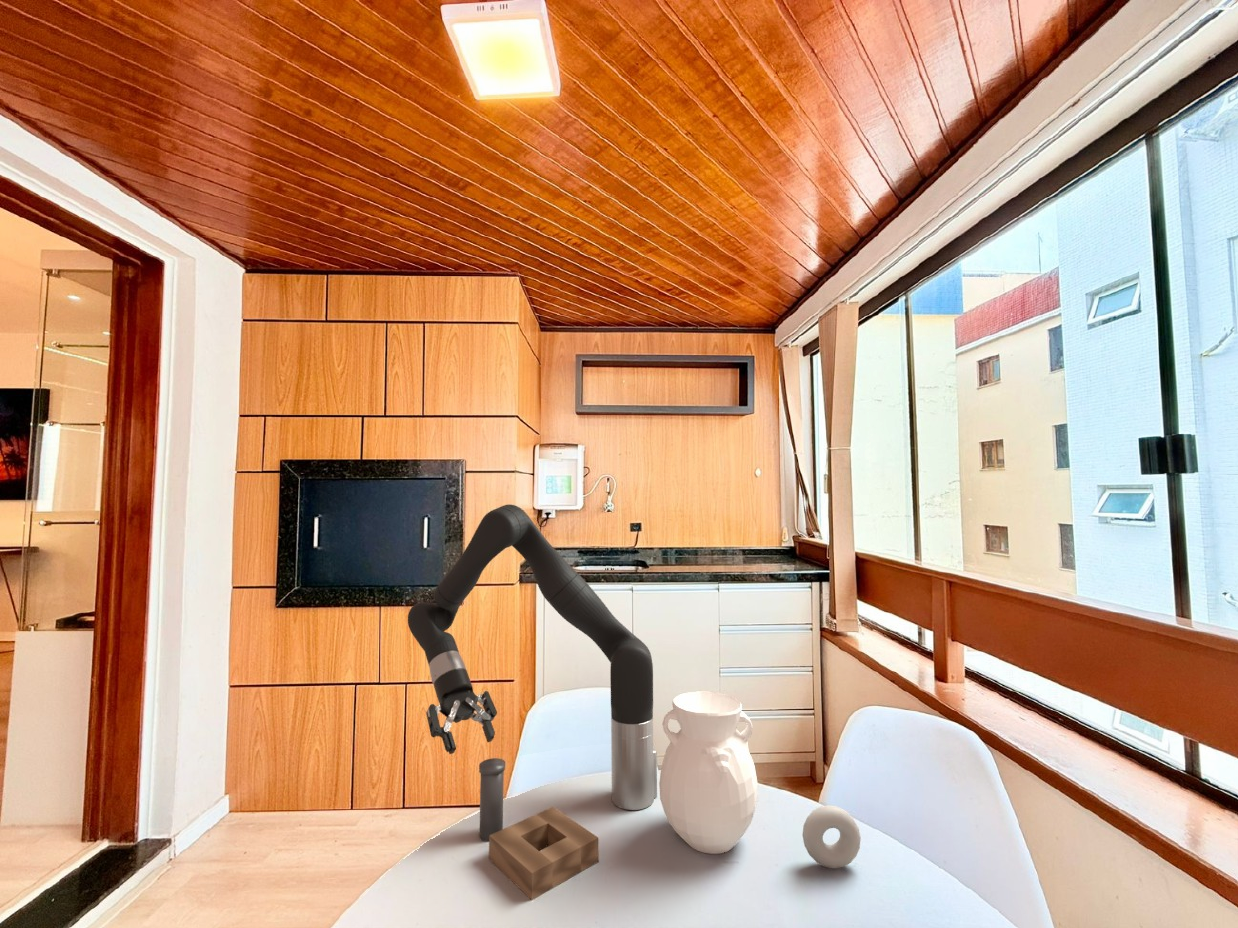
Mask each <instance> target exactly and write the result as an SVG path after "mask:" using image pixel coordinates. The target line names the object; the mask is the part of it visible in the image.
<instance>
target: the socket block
mask: <svg viewBox="0 0 1238 928" xmlns="http://www.w3.org/2000/svg"><path fill="white" fill-rule="evenodd" d="M488 842H489V843H488V860H489V861H490V862H491V863H492V864H493V865H495V867H496V868H497V869H499V870H500V872H501V873H503V874H504V875H505V876H506V877H507V878H508V879H509V880H510V881H511V882H512V883H513V884H514V885H515V886H517V887H518V889H519V890H520V891H522V893H524V894H525V895H526V896H527V897H528V898H529V899H530V900H531V901H533V900H535V899H536V898H538V897H540V896H541V895H543V894H546V892H549V891H550V890H552V889H554V888H556V887H557V886H559V885H561V884H562V883H564V882H565V881H567V880H569V879H571V878H572V877H574V876H576V875H578V874H580V873H581V872H583V871H585V870H586V869H588V868H590V867H591V866H593V865H595V864H597V863H599V861H600V859H599V857H600V856H599V851H600V850H599V849H600V847H599V836H597V835H595V834H594V833H592V832H591V831H589V829H586V828H585V827H584V826H583V825H580V824H579V823H577V822H576V821H575V820H573V819H572V818H570V817H569V816H567V815H566V814H565V813H563V812H561V811H560V810H559V809H557V808H556V807H554V806H552V807H550V808H547V809H545V810H542V811H541V812H538V813H536V814H533V815H532V816H530V817H527V818H524V819H523V820H520V821H518V822H515V823H514V824H512V825H509V826H507V827H505V828H503V830H500V831H498V832H496V833H494V834H491V835H489V841H488Z"/></svg>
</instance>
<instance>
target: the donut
mask: <svg viewBox="0 0 1238 928" xmlns="http://www.w3.org/2000/svg"><path fill="white" fill-rule="evenodd" d="M829 829H836V830H837V831H838V832H839V838H838V840H836V842H834V843H832V844H827V843H825V841H824V840H823V837H824V834H825V833H826V832H827V831H828V830H829ZM802 839H803V841H802V842H803V845H804V847H805V850H806V851H807V853H808V855H809V856H810V857H811V858H812V859H813V860H814V861H815V863H817V864H818V865H821V866H823V867H825V868H829V869H840V868H844V867H846V866H848V865H849V864H851V863H852V862H853V860H855V859H856V857H857V855H858V853H859V851H860V849H861V848H860V847H861V840H862V839H861V832H860V829H859V826H858V824H857V822H856V820H855V818H854V817H853V816H851V814H850V813H849V812H848V811H846V810H845V809H843V808H841V807H839V806H835V805H828V804H827V805H821V806H819V807H817V808H815V809H813V810H812V811H811V812H810V813H809V815H807V817H806V818H805V821H804V823H803V829H802Z"/></svg>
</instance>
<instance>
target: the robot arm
mask: <svg viewBox="0 0 1238 928" xmlns="http://www.w3.org/2000/svg"><path fill="white" fill-rule="evenodd" d="M470 539H471V540H470V541H469V543H468V545H467V546H466V548H465V549H464V551H463V552H462V554H461V555H460V557H459V558H458V560H457V561H456V562H455V564H454V565H453V566H452V567H451V569H450V570H449V571H448V572H447V574H445V576H444V577H443V579H442V580H441V581H440V582H439V583H438V585H437V586H436V588H435V589H434V591H433V595H432V596H433V600H434V602H417V603H415V604H414V605H412V606H411V608H410V609H409V611H408V614H407V624H408V629H409V630H410V633H411V634H412V636H413V637H414V639H415V640H416V642H417V643H418V645H419V646H420V647H421V648H422V650H423V652H424V653H425V657H426V660H427V664H428V667H429V674H430V678H431V683H432V684H433V688H434V691H435V695H436V697H437V701H438V703H439V705H435V704H434V703H431V704H430V705H429V707H428V708H427V710H426V718H427V723H428V728H429V733H430V736H431V737H432V738H436V737H440V738H441V740H442V742H443V746H444V749H445V751H446V753H449V755H452V754H455V751H456V750H457V745H456V744H455V743H456V742H455V739H454V736H453V734H452V731H451V730H450V729H451V727H452V725H453V722H454V723H459V722H461V721H468V720H470V719H471V720H472V721H473V722H478V723H479V724H481V725H482V726H481V727H482V730H483V734H484V736H485V738H486V741H487V743H490V742H492V741H493V740H494V738H495V735H496V730H495V729H494V726H493V723H492V721H494V719H495V717H496V716H497V715H498V711H497V708H496V706H495V704H494V701H493V700H492V697H491V694H490V692H489V691H487V690H485V691H484V692H483V693H481V694H478V695H476V694H475V692H474V687H473V684H472V682H471V679H470V677H469V676H470V675H469V673H468V669H467V667H466V665H465V662H464V660H463V657H462V655H461V653H460V652H459V648H458V645H457V643H456V639H455V638H454V636H453V634H451V633H449V632H447V630H449V629H450V628H451V627H452V625H453V624H454V621H455V618H456V616H457V614H458V611H459V608H460V606H461V604H462V603H463V602H464V600H466V598H467V597H468V596H469V595H470V594H471V591H472V590H473V589H474V588H475V586H476V584H477V583H478V581H479V580H480V577H481V575H482V573H483V571H484V570H485V568H487V566H488V565H489V563H490V562H491V561H492V560H494V558H496V557H497V556H498V555H499V554H500V553H501V552H503V551H504V550H505V549H507V548H510V547H512V548H514V549H515V550H516V551H517V552H518V553H519V554H520V555H521V557H522V558H524V559H525V561H526V563H527V564H528V566H529V567H530V569H531V571H532V574H533V576H534V579H535V581H536V584H537V586H538V589H539V591H540V593H541V594H542V596H543V597H544V599H545V600H546V601H547V602H548V604H550V606H551V607H552V608H553V609H554V611H556V612H557V613H558V614H559V615H560V616H561V617H562V618H563V619H564V620H565V621H566V622H567V623H568V624H570V625H572V626H573V627H574V628H576V629H577V630H578V631H580V632H582V633H583V634H584V635H585V636H587V637H589V638H590V639H591V640H592V641H593V642H594V644H596V645H597V647H598V648H599V650H601V652H602V653H603V654H604V656H605V657H606V658H607V659H608V661H609V662H610V674H609V675H610V679H609V680H610V713H611V714H610V715H611V716H610V721H611V723H610V724H611V725H610V727H611V732H610V733H611V738H610V739H611V740H610V741H611V743H610V744H611V748H610V749H611V755H610V756H611V757H610V758H611V759H610V760H611V801H612V803H613V804H614V805H615V806H616V807H618V808H620V809H623V810H626V811H627V810H629V811H639V810H643V809H647V808H648V807H650V806H651V805H653V803H654V800H655V799H656V798H657V797H658V773H657V772H658V771H657V770H658V769H657V768H658V767H657V766H658V760H657V758H658V757H657V751H656V750H655V749H654V717H653V716H654V663H653V660H652V659H653V658H652V654H651V650H650V649H649V647H648V646H647V645H646V643H645V642H643V641H642V640H641V639H639V638H638V637H637V636H636V635H635V634H634V633H632V632H631V631H630V630H629V629H628V628H627V627H626V626H625V625H624V624H622V623H621V622H620V621H619V620H618V619H617V618H616V617H615V616H614V615H613V613H612V612H611V611H610V609H609V608H608V607H607V606H606V604H605V603H604V602H603V600H602V599H601V598H600V597H599V595H598V594H597V593H596V592H595V591H594V590H593V588H592V587H591V586H590V585H589V583H587V582H586V580H585V579H584V578H583V577H582V576H581V575H580V573H578V572H577V571H576V570H575V569H574V568H573V567H572V566H571V565H570V564H569V563H568V562H567V560H565V558H564V557H563V556H562V555H561V554H560V553H559V552H558V550H556V549H555V547H553V546H552V545H551V543H550V542H549V541H548V539H546V538H545V536H544V535H543V533H542V532H541V530H540V529H539V528H538V527H537V525H536V524H535V523H534V521H533V520H532V519H531V517H530V516H529V515H528V513H526V512H525V510H523V508H521V507H520V506H518V505H515V504H504V505H501V506H499V507H496V508H495V509H492V510H490V511H488V512H487V513H486V514H484V516H483V517H482V519H481V521H480V523H479V525H477V528H476V530H475V532H474V534H473V536H472V537H471V538H470ZM478 703H479V704H478ZM481 706H482V707H481ZM440 713H441V714H442V715H443V716H444V717H446V718H445V721H444V723H443V726H441V725H440V724H441V723H440V721H439V716H438V715H440Z"/></svg>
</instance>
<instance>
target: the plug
mask: <svg viewBox="0 0 1238 928" xmlns="http://www.w3.org/2000/svg"><path fill="white" fill-rule="evenodd" d="M505 770H506V761H505V760H504V759H502V758H498V757H496V758H494V757H492V758H488V759H485V760H483V761H482V760H481V762H480V763H479V765H478V772H479V774H480V781H479V782H480V789H479V790H480V791H479V834H478V835H479V836H478V837H479V839H480V840H481V841H483V842H489V835H491V834H494V833H496V832H498V831H500V830H503V829H504V827H503V826H504V825H503V824H504V783H505V782H504V777H505V776H504V775H505V774H504V772H505Z"/></svg>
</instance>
